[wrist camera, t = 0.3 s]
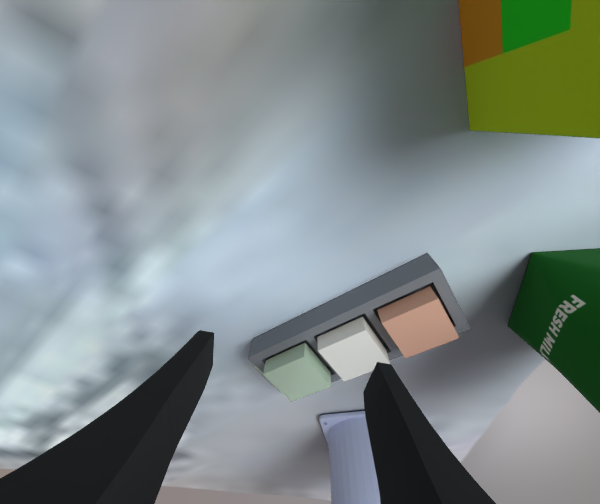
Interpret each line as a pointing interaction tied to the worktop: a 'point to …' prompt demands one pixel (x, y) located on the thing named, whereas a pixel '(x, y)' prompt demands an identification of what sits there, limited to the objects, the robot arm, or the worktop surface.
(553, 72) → the puzzle toy
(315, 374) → the sage key
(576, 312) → the milk carton
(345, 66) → the worktop surface
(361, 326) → the cream key
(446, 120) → the worktop surface
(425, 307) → the terracotta key
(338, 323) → the key panel
